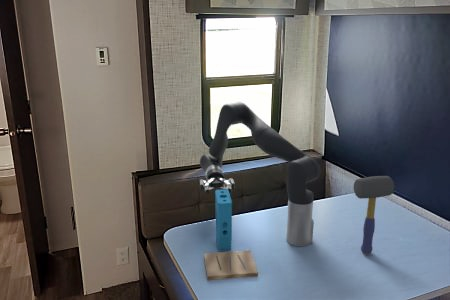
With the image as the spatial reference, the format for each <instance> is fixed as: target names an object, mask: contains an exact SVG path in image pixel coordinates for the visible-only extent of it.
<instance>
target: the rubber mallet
mask: <svg viewBox="0 0 450 300" xmlns="http://www.w3.org/2000/svg"><path fill="white" fill-rule="evenodd" d="M394 191H395V182H394V180H393V178H391V177H390V176H388V175H377V176H376V175H374V176H368V177H367V176H366V177H361V178H356V179H355V181H354V183H353V192H354V195H355V196H356V197H357V198H358V199H368V202H367V208H366V216H365V219H364V223H363V227H362V228H363V229H362V230H363V235H362V244H361V247H360V250H361V252H362V254H363V255H367V256H368V255H371V254H372V252H373V238H374V233H375V228H376V226H375V225H376V223H375V222H376V219H375V212H376V211H375V210H376V200H377V198H384V197H389V196H392V194H393V193H394Z"/></svg>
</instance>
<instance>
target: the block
mask: <svg viewBox="0 0 450 300" xmlns="http://www.w3.org/2000/svg"><path fill="white" fill-rule="evenodd" d="M214 193H215V195H214V196H215V204H214V205H215V206H214V207H215V239H216V240H215V241H216V245H217V250H218V251H230V250H232V242H233V241H232V238H233V233H232V232H233V228H232V227H233V217H232V216H233V201H232V198H231V193H229V190H227V189H216V190H215V192H214Z"/></svg>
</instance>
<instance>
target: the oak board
mask: <svg viewBox="0 0 450 300" xmlns="http://www.w3.org/2000/svg"><path fill="white" fill-rule="evenodd" d="M203 257H204V263H205V265H204V266H205V272H206V279H207V281H218V280H229V279H243V278H245V279H246V278H255V277H259V270H258V267H257V265H256V263H255V259H254V256H253V252H252V250H249V249H248V250H238V251H237V250H235V251H219V252H210V253H209V252H207V253H206V252H205V253H203Z"/></svg>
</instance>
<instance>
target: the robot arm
mask: <svg viewBox="0 0 450 300" xmlns="http://www.w3.org/2000/svg"><path fill="white" fill-rule="evenodd" d="M237 124H242V125H244V126H245V127H246V128H247V129H249V130H250V133H251V139H252V141H253V143H254V144H255V146H257V147H258V148H259V149H260V150H261V151H262V152H264V153H265V154H266V155H269V156H271V157H275V158H277V159H280V160H283V161H285V162H287V163H288V164H287V167H286V192H287V195H288V201H287V216H286V217H287V219H286V220H287V221H286V223H287V224H286V242H287V243H288V244H290V245H292V246H295V247H306V246H308V245H310V244H313V239H314V224H315V223H314V219H313V209H314V192H312V191H311V190H309V189H307V184H308V183H311V182H314V181H315V180H317V179H318V178H320V176H321V167H320V164H319V163H318V162H317V160H316V159H314V158H313V157H312V156H311V155H310V154H307V153H306V152H304V151H303V150H301V149H299V148H298V147H296V146H295V145H294V144H292V143H291V142H290V141H289V140H287V139H286V138H285V137H283V136H282V135H281V134H280V133H279V132H277V131H276V130H275V129H274V128H273V127H271V126H270V125H269V124H267V123H266V122H265V121H264V120H263V119H262V118H260V117H259V116H258V115H257V114H256V113H255V112H254V111H253V110H252V109H251V108H250V107H249V106H248V105H247V104H246V103H244V102H242V101H233V102H229V103H226V104H224V105H222V107H221V108H220V111H219V115H218V120H217V125H216V127H215V133H214V137H213V140H212V141H211V143H210V146H209V149H208V152H209V154H208V153H204V154H203V155H202V156H201V157H200V160H199V166H200V168H201V170H203V171H204V172H205V178H206V180H204V179H199V189H200V191H203V190H204V192H205V194H207V195H210V190H212V189H217V188H219V189H220V188H221V189H222V190H225V189H226V190H229V194H231V193H232V190H234V189H235V187H236V186H235V185H236V184H235V181H234V179H233V178H232V177H231V178H230V177H229V179H226V178H225V175H224V173H223V169H222V167H223V160H224V159H223V157H224V154H225V152H226V149H227V148H228V144H229V136H228V134H227V133H228V130H229V129H230V127H231V126H234V125H237Z"/></svg>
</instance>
